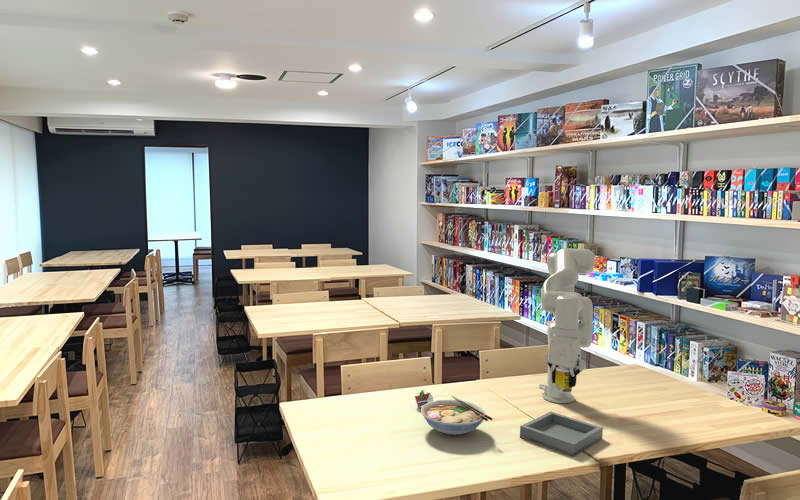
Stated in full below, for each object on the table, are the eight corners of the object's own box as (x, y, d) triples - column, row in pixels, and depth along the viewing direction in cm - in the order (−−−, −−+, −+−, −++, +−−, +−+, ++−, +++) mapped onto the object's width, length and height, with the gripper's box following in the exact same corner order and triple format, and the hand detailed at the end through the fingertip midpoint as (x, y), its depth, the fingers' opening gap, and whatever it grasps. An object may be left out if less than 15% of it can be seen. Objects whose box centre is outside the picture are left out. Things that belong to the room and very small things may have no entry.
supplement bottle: (564, 395, 194) (565, 365, 193) (551, 390, 199) (552, 361, 198) (575, 392, 197) (576, 362, 196) (562, 387, 202) (563, 358, 201)
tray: (519, 437, 199) (520, 426, 199) (550, 422, 214) (550, 411, 213) (573, 456, 185) (573, 444, 185) (602, 438, 199) (602, 427, 199)
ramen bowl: (408, 422, 210) (408, 400, 210) (463, 414, 220) (464, 393, 219) (439, 450, 188) (440, 426, 187) (500, 440, 197) (501, 416, 196)
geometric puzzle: (408, 403, 224) (420, 388, 222) (414, 397, 230) (426, 383, 228) (421, 416, 222) (434, 402, 220) (427, 410, 229) (439, 396, 226)
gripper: (537, 329, 199) (535, 380, 201) (584, 339, 187) (581, 393, 189) (549, 326, 205) (547, 376, 206) (595, 335, 193) (592, 388, 194)
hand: (563, 383), depth 198 cm, fingers closed on supplement bottle, 5 cm apart
